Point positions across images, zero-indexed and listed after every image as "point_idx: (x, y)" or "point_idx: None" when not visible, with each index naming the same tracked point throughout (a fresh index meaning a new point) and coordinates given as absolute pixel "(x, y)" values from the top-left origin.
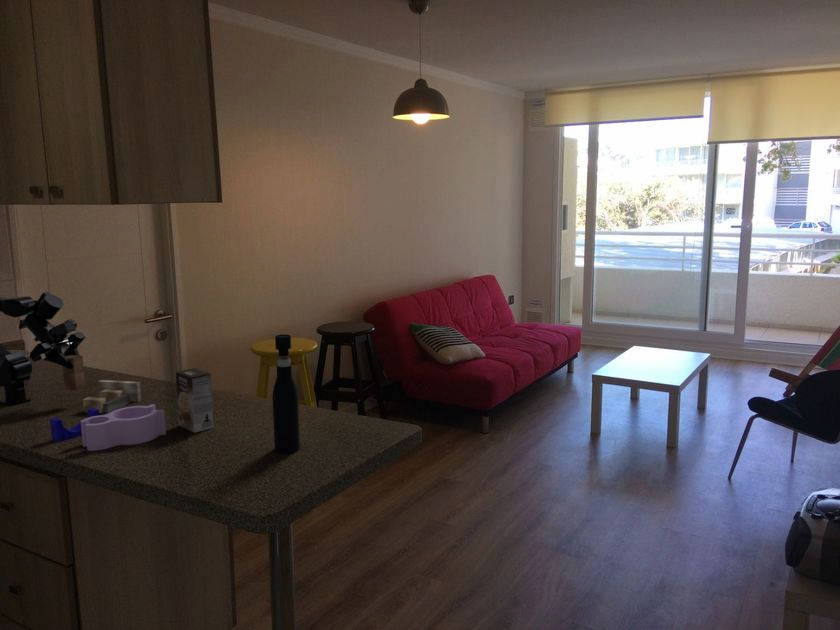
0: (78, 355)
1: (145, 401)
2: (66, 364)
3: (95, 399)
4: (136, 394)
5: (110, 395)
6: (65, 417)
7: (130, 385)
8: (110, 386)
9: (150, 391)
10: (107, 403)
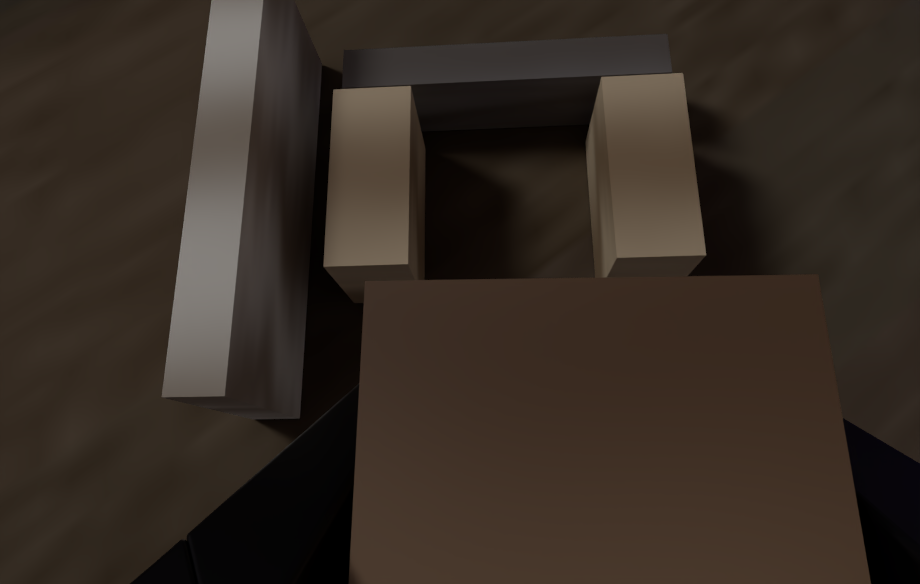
0: (364, 429)
1: (308, 22)
2: None
3: (665, 137)
4: (303, 34)
5: (413, 178)
6: (840, 354)
7: (272, 21)
8: (260, 245)
9: (43, 136)
10: (649, 45)
